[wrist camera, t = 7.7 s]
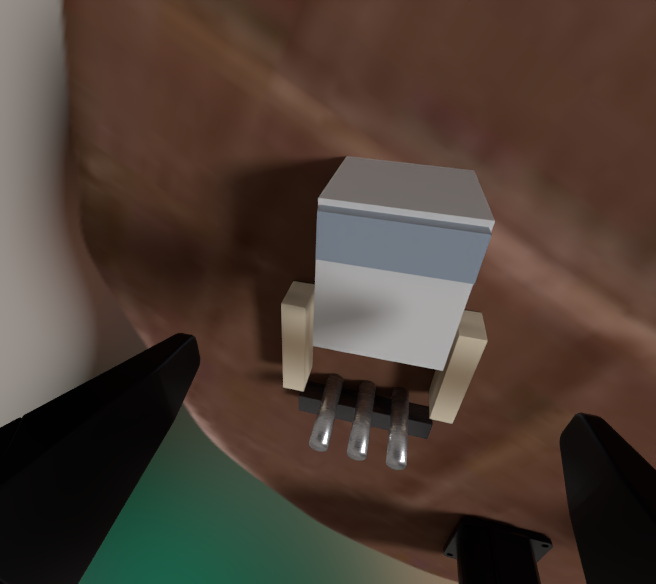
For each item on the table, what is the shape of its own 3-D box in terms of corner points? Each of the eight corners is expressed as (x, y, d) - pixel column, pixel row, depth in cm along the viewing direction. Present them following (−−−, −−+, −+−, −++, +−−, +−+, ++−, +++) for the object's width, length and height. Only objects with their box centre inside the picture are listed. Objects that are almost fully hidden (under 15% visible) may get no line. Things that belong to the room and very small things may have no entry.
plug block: (438, 295, 17) (443, 381, 13) (336, 278, 18) (309, 354, 14) (473, 169, 14) (498, 228, 9) (347, 155, 15) (313, 203, 10)
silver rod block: (427, 421, 22) (427, 494, 19) (303, 395, 24) (282, 458, 20) (436, 394, 21) (439, 468, 17) (304, 368, 22) (281, 431, 18)
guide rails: (450, 394, 21) (452, 423, 19) (293, 362, 22) (283, 387, 20) (481, 313, 17) (487, 340, 16) (293, 280, 19) (281, 303, 17)
